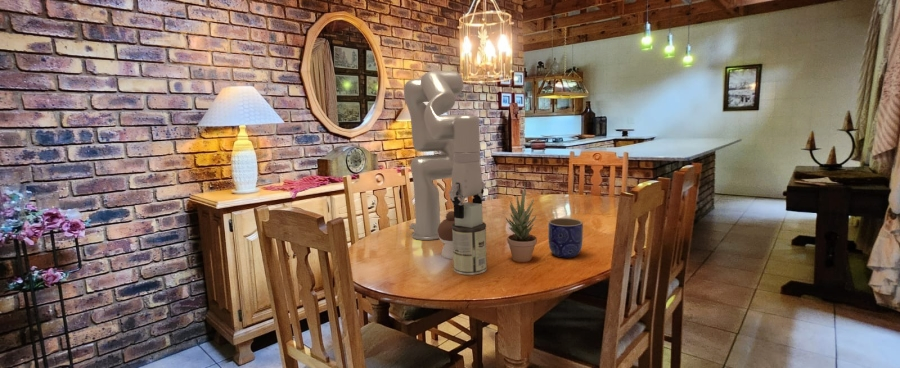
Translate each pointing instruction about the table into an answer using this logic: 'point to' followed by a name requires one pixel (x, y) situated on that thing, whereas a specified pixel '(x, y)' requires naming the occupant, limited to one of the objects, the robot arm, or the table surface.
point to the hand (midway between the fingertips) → (468, 214)
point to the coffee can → (469, 249)
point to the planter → (565, 237)
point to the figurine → (447, 235)
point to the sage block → (470, 215)
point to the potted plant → (521, 232)
